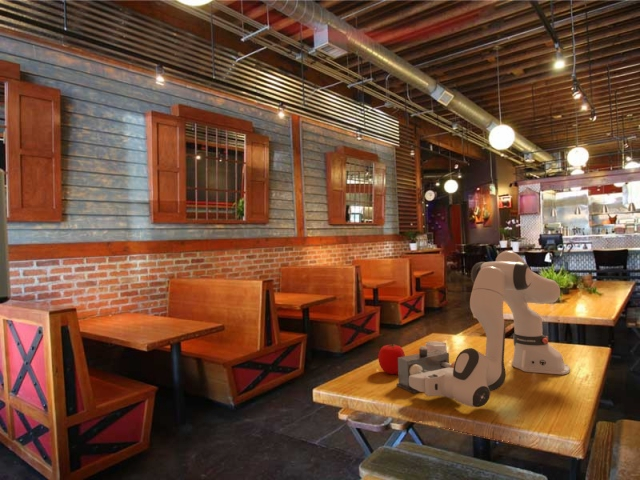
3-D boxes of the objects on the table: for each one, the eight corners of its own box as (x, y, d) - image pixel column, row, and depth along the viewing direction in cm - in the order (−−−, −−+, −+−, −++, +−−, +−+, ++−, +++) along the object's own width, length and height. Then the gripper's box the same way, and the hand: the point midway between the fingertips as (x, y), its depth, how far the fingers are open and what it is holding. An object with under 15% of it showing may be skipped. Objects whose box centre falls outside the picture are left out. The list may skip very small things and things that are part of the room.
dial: (428, 354, 175) (428, 345, 175) (425, 356, 172) (425, 347, 172) (421, 353, 177) (420, 345, 177) (418, 355, 174) (417, 346, 174)
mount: (458, 382, 173) (457, 354, 173) (413, 393, 163) (412, 364, 163) (441, 375, 182) (440, 349, 182) (396, 385, 172) (395, 358, 172)
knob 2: (463, 374, 169) (463, 361, 169) (453, 376, 167) (453, 363, 167) (446, 368, 177) (446, 356, 177) (437, 370, 175) (436, 358, 175)
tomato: (411, 374, 185) (410, 345, 185) (388, 379, 180) (387, 348, 180) (395, 367, 196) (394, 339, 196) (373, 371, 192) (372, 342, 192)
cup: (448, 374, 183) (447, 346, 183) (426, 374, 185) (425, 346, 185) (446, 368, 192) (445, 341, 192) (425, 367, 194) (424, 340, 194)
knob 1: (423, 377, 167) (422, 364, 167) (412, 379, 165) (412, 366, 165) (407, 371, 176) (407, 358, 176) (397, 373, 173) (397, 360, 173)
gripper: (468, 369, 157) (441, 360, 169) (424, 378, 148) (399, 368, 160) (469, 386, 157) (442, 376, 169) (424, 397, 148) (399, 385, 160)
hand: (421, 372), depth 165 cm, fingers closed
